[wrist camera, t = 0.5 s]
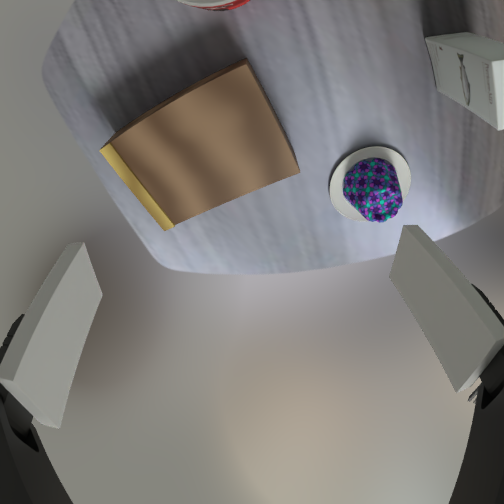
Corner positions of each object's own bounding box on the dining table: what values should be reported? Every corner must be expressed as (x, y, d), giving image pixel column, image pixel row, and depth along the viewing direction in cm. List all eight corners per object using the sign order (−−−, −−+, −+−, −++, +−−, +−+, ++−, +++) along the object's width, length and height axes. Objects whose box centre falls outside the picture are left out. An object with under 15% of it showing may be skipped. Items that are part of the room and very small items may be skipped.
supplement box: (422, 36, 24) (491, 58, 14) (467, 31, 21) (538, 54, 12) (434, 91, 28) (497, 132, 19) (476, 82, 26) (541, 121, 17)
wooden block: (246, 57, 27) (246, 64, 23) (294, 152, 35) (300, 173, 32) (115, 132, 33) (98, 151, 29) (171, 206, 41) (163, 231, 37)
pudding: (316, 161, 36) (325, 182, 33) (401, 132, 33) (419, 150, 29) (340, 228, 44) (349, 252, 40) (412, 203, 41) (427, 225, 37)
